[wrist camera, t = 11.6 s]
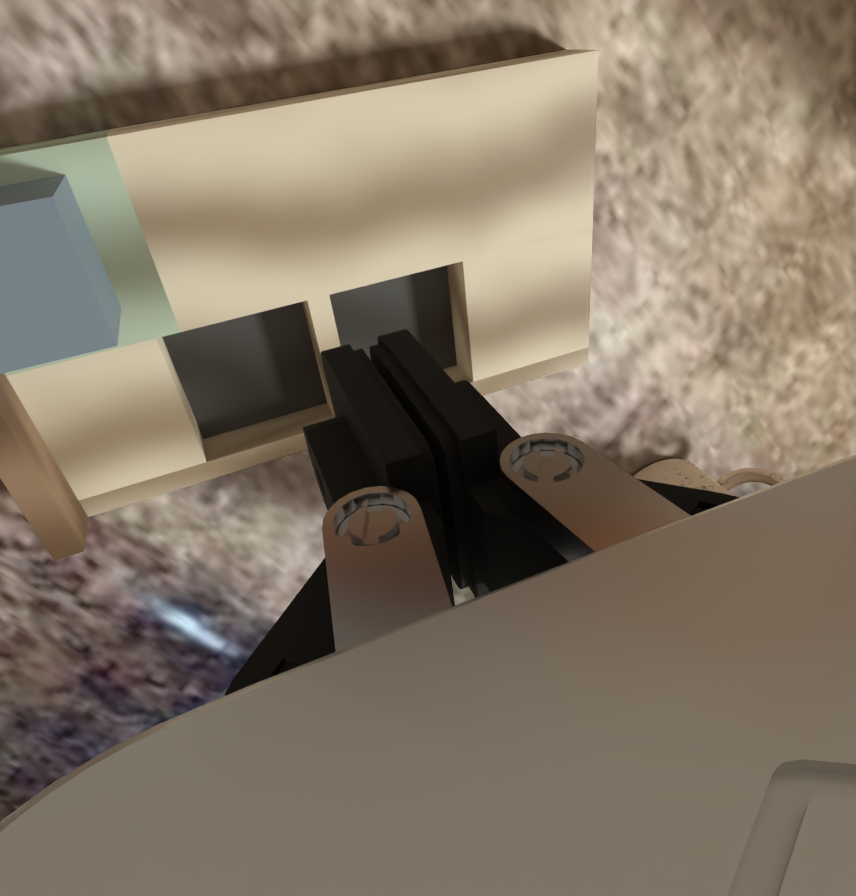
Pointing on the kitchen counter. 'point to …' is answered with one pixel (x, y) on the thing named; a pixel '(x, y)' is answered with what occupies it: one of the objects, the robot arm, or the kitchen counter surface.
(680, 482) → the teacup with lid
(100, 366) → the board
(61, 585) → the kitchen counter surface
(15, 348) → the slate block
